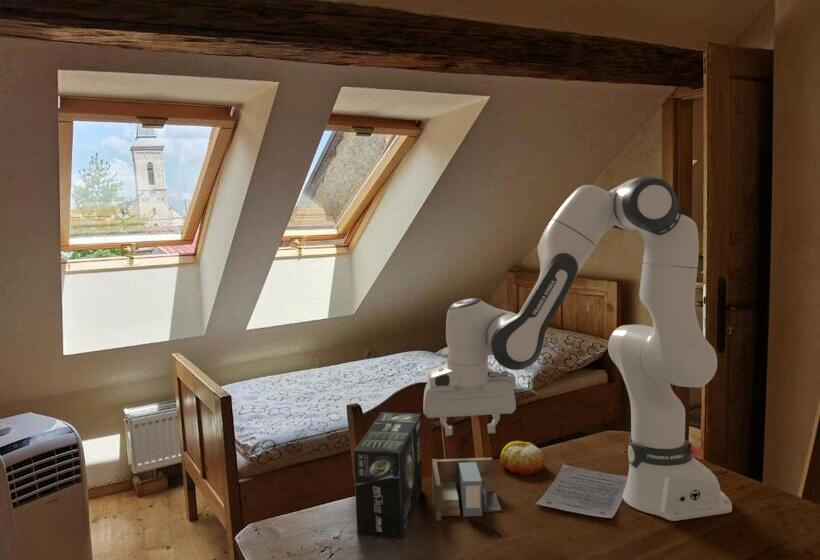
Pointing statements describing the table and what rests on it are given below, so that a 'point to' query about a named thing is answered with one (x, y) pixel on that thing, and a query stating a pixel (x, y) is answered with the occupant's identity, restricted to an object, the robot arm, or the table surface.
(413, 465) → the box
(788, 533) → the table surface
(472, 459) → the shelf
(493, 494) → the bookend
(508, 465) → the fruit
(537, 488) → the table surface
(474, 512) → the book
